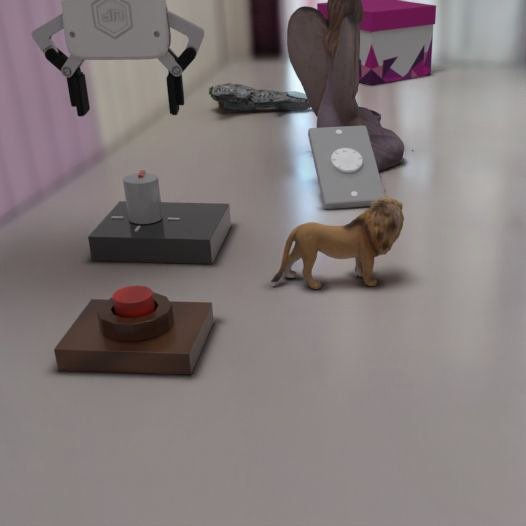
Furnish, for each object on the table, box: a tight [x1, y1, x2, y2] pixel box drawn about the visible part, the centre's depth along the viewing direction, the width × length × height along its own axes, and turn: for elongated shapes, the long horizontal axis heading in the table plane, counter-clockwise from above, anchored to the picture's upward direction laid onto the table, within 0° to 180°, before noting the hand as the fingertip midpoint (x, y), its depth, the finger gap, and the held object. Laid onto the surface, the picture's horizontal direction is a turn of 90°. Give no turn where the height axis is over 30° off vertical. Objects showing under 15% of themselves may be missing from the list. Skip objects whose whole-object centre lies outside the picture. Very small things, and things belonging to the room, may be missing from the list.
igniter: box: [53, 291, 215, 376], centre depth 74 cm, size 12×10×4 cm
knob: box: [122, 169, 163, 224], centre depth 94 cm, size 4×4×5 cm
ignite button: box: [111, 285, 155, 318], centre depth 73 cm, size 4×4×2 cm
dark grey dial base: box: [87, 200, 232, 265], centre depth 96 cm, size 14×12×3 cm
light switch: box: [307, 126, 386, 210], centre depth 113 cm, size 8×6×14 cm
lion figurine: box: [270, 196, 405, 290], centre depth 86 cm, size 15×5×9 cm, turn 104°
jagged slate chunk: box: [208, 82, 311, 113], centre depth 154 cm, size 16×20×5 cm
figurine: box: [286, 0, 405, 172], centre depth 121 cm, size 18×15×25 cm
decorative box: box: [316, 0, 437, 86], centre depth 183 cm, size 19×19×15 cm
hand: (129, 112), depth 86 cm, fingers open, 9 cm apart
